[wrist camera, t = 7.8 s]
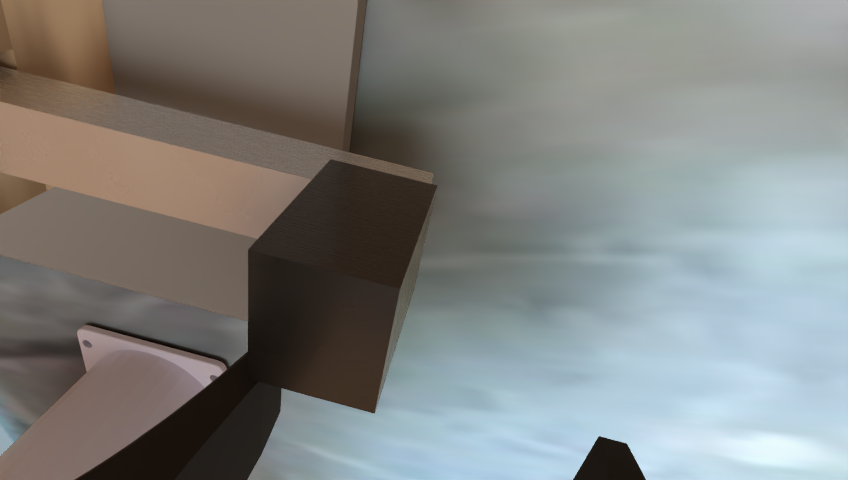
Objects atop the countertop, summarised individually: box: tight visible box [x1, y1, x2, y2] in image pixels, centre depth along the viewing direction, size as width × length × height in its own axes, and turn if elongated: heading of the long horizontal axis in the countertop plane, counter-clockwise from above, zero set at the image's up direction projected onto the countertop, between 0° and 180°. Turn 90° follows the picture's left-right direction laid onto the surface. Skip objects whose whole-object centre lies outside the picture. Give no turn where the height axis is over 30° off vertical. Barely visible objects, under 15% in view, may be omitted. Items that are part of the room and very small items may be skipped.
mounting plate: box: [0, 0, 367, 321], centre depth 18 cm, size 20×18×1 cm
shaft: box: [0, 66, 437, 413], centre depth 11 cm, size 3×15×6 cm, turn 79°
